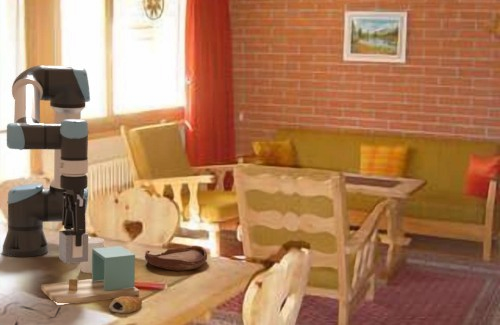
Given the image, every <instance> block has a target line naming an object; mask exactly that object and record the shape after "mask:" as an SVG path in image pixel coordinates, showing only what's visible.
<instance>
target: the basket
mask: <svg viewBox="0 0 500 325" xmlns="http://www.w3.org/2000/svg"><path fill="white" fill-rule="evenodd" d="M150 252H151V251H150V250H146V251H145V254H144V259H145V260H146V261H147V262H148V263H149V264H150V265H152V266H154V267H158V268H162V269H165V270H169V271H177V272H181V271H190V270H193V269H194V270H195V269H197V268H199V267H201V266H202V265H205V263H206V261H207V259H208V253H207V250H206V248H205V247H203V246H200V245H192V246H188V247H187V246H183V247H178V248H177V247H176V248H175V247H174V248H168V249H166V250H165V251H164V252H161V253H160V254H159V253H158V254H151V253H150Z"/></svg>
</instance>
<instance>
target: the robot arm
mask: <svg viewBox="0 0 500 325" xmlns="http://www.w3.org/2000/svg"><path fill="white" fill-rule="evenodd" d="M11 95H12V98H13V100H14V117H13V118H14V120H13V121H14V122H10V123H8V124H7V125H6V146H7V148H8V149H11V150H20V151H23V150H54V153H53V154H54V158H53V159H54V160H53V161H54V166H53V168H54V169H53V170H54V172H53V174H54V175H53V180H51V181H50V182H49V188H45V187H44V185H43V184H42V183H29V184H28V183H26V184H20V185H17V186H14V187H11V188H10V189H9V190H8V192H7V202H6V204H7V232H6V236H5V238H4V241H3V244H2V254H4V255H5V256H9V257H15V258H25V257H26V258H27V257H28V258H29V257H36V256H37V257H38V256H42V255H45V254H47V253H48V252H49V245H48V244H49V243H48V240H47V238H46V235H45V231H44V223H45V222H46V223H48V222H49V223H52V222H54V223H55V222H56V223H57V222H58V223H59V222H60V223H61V225H62V226H63V228H64V231H66V230H73V231H74V233H72V234H71V235H72V258H78V257H82V247H83V234H85V233H87V232H86V213H87V207H88V201H89V200H88V199H89V189H88V185H89V184H88V175H87V174H88V173H89V159H88V151H89V150H88V149H89V148H88V147H89V133H90V132H89V126H88V125H89V124H88V121H86V120H85V119H82V116H81V115H82V111H83V110H84V109H85V108H86V103H89V102H90V100H91V95H90V86H89V78H88V73H87V71H86V69H85V68H84V67H80V66H75V65H74V66H73V65H41V64H40V65H35V66H31V67H29V68H26V69H24V70H23V71H22V72H21V73H20V74H18V75H17V76H16V78H15V79H14V80H13V83H12V87H11ZM41 101H49V104H50V105H49V106H50V108H52V110H53V111H54V123H41V105H40V103H41Z"/></svg>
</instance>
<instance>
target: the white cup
mask: <svg viewBox="0 0 500 325" xmlns="http://www.w3.org/2000/svg"><path fill="white" fill-rule="evenodd" d="M104 247H105V239H103V237H102V238H101V237H97V236H95V237H91V236H90V237H89V236H88V261H87V262H79V263H80V272H82V273H83V274H92V249H94V248H104Z"/></svg>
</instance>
